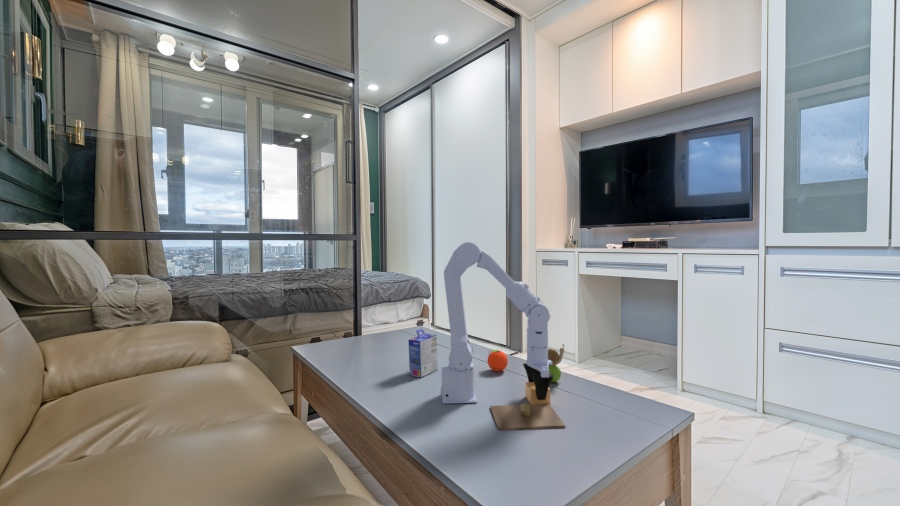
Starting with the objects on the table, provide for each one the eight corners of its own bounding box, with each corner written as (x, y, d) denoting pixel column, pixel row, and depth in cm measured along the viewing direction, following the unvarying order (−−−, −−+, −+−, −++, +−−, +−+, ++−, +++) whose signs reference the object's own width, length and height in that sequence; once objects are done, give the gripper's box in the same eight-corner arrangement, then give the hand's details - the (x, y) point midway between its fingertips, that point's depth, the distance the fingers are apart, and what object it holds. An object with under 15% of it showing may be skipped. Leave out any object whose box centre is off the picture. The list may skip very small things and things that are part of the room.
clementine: (481, 370, 130) (480, 349, 130) (494, 365, 135) (494, 345, 135) (498, 375, 124) (498, 354, 124) (512, 371, 129) (511, 350, 129)
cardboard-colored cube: (530, 404, 102) (530, 389, 102) (525, 396, 108) (525, 382, 108) (550, 403, 103) (550, 389, 102) (544, 395, 108) (544, 381, 108)
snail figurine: (565, 385, 115) (565, 346, 115) (543, 384, 117) (543, 345, 116) (563, 379, 121) (563, 342, 120) (542, 378, 122) (542, 341, 122)
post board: (498, 430, 88) (498, 417, 88) (490, 407, 100) (490, 396, 100) (565, 427, 89) (565, 415, 89) (549, 405, 101) (549, 394, 101)
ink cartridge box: (425, 367, 134) (425, 326, 134) (438, 369, 131) (438, 328, 131) (408, 375, 126) (407, 332, 125) (421, 378, 123) (421, 334, 122)
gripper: (560, 352, 98) (560, 404, 98) (543, 338, 112) (543, 383, 113) (533, 353, 97) (534, 405, 98) (520, 339, 112) (520, 384, 112)
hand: (537, 394), depth 105 cm, fingers open, 6 cm apart
